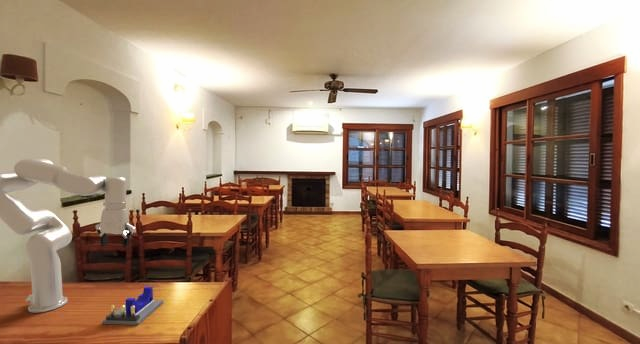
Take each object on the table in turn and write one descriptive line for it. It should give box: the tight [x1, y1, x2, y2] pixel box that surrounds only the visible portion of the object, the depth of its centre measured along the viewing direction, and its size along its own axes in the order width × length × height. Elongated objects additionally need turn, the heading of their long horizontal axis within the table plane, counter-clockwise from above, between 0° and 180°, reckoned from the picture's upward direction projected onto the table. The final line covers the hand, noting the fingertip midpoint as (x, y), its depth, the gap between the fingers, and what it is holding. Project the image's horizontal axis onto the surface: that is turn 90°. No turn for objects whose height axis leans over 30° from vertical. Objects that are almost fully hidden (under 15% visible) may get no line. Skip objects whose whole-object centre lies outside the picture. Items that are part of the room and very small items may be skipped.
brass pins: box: [105, 304, 140, 321], centre depth 121 cm, size 12×2×5 cm, turn 87°
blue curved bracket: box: [125, 286, 154, 315], centre depth 130 cm, size 12×4×6 cm, turn 173°
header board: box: [102, 299, 164, 326], centre depth 128 cm, size 14×17×1 cm
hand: (115, 245), depth 135 cm, fingers open, 9 cm apart
